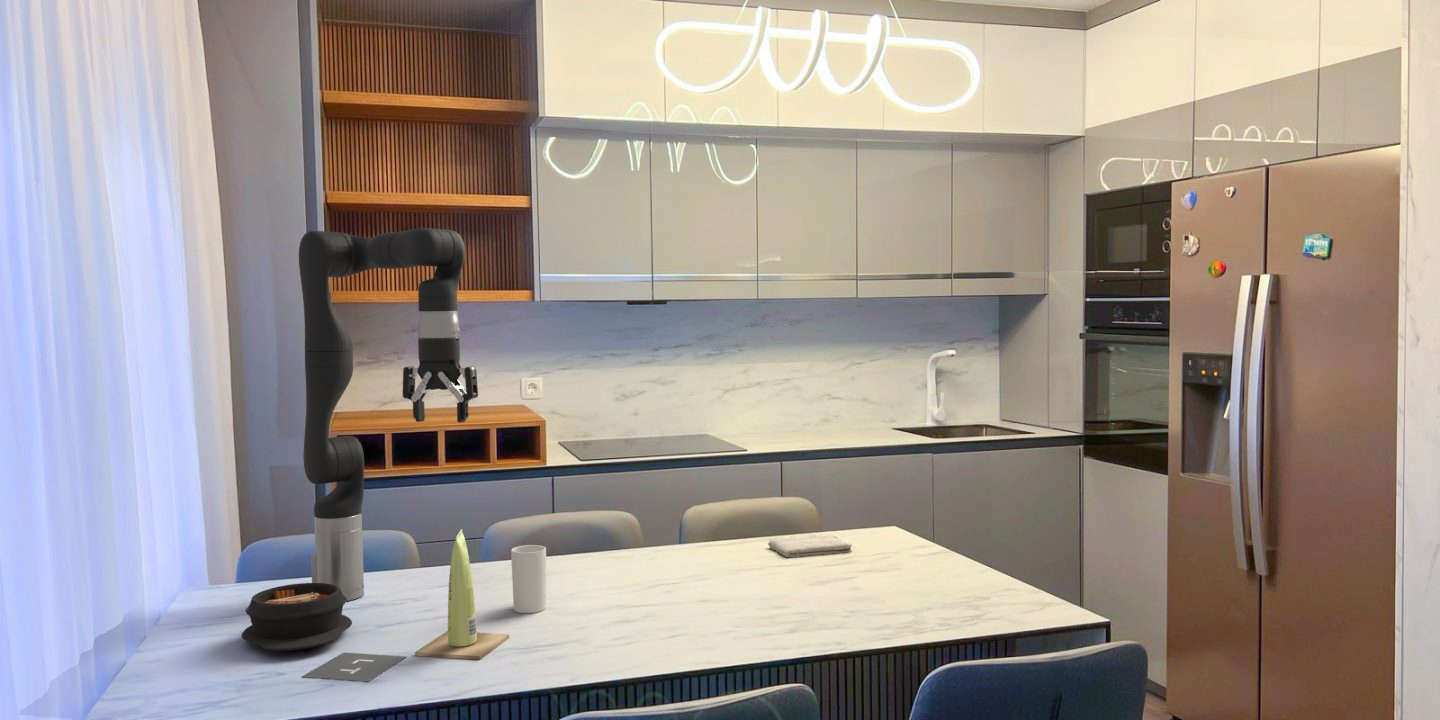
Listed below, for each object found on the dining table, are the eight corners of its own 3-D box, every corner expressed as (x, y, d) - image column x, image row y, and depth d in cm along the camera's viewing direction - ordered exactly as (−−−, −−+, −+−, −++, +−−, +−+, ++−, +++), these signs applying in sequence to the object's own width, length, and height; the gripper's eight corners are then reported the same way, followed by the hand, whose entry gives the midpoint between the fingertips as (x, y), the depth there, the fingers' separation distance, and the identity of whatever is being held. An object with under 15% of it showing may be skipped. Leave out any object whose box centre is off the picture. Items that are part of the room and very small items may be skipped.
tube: (440, 643, 181) (437, 533, 180) (464, 636, 185) (461, 528, 184) (458, 649, 178) (456, 537, 177) (483, 642, 181) (480, 532, 180)
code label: (301, 680, 167) (301, 676, 167) (343, 655, 179) (343, 652, 179) (368, 685, 164) (368, 681, 164) (407, 660, 176) (406, 656, 176)
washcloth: (855, 554, 248) (855, 541, 248) (786, 560, 242) (786, 547, 242) (834, 543, 259) (834, 531, 259) (767, 549, 254) (767, 537, 253)
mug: (546, 613, 201) (545, 552, 200) (511, 615, 200) (510, 553, 199) (547, 598, 211) (546, 540, 210) (514, 600, 210) (512, 542, 209)
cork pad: (415, 655, 177) (415, 652, 177) (448, 633, 188) (448, 630, 188) (480, 659, 174) (480, 656, 174) (509, 637, 186) (509, 634, 186)
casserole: (240, 627, 194) (238, 583, 194) (345, 613, 202) (343, 571, 202) (242, 668, 172) (241, 618, 172) (360, 650, 180) (358, 603, 180)
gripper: (393, 336, 191) (396, 423, 192) (464, 336, 188) (466, 424, 189) (414, 335, 199) (416, 419, 199) (482, 334, 196) (484, 420, 196)
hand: (441, 421), depth 194 cm, fingers open, 8 cm apart
